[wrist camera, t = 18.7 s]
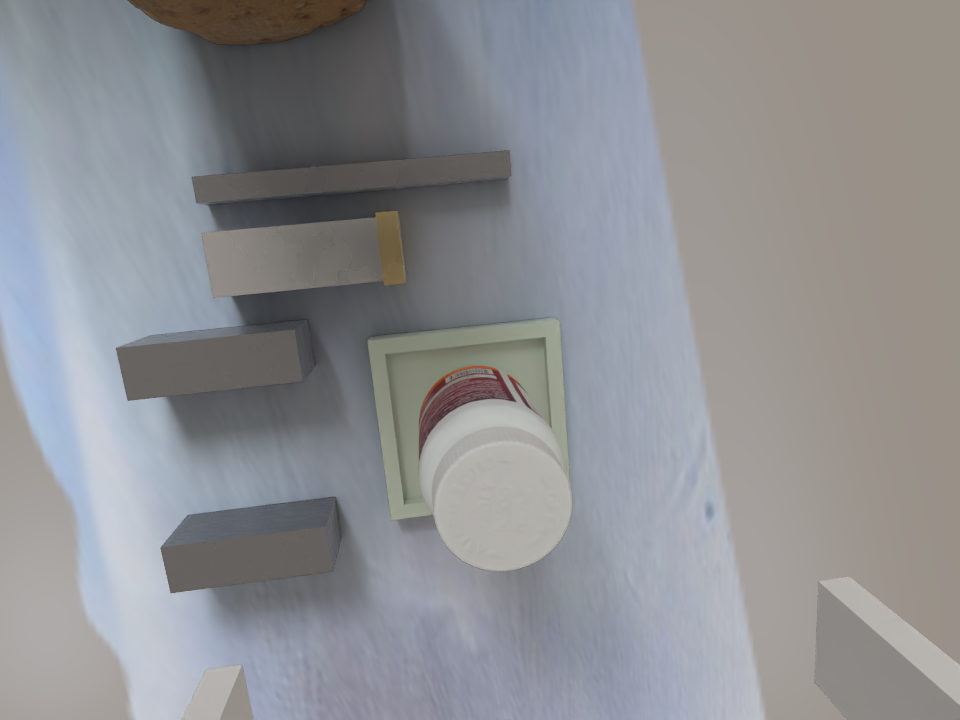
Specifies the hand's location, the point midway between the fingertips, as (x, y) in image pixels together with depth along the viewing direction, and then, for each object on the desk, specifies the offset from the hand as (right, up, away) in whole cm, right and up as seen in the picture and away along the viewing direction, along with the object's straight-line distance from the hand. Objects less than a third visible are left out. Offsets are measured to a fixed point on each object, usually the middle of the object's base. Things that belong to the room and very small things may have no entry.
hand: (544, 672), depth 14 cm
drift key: (-10, +12, +17) cm, 23 cm away
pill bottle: (-2, +4, +19) cm, 20 cm away
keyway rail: (-8, +16, +17) cm, 24 cm away
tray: (-2, +4, +20) cm, 20 cm away
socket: (-14, +3, +19) cm, 23 cm away
